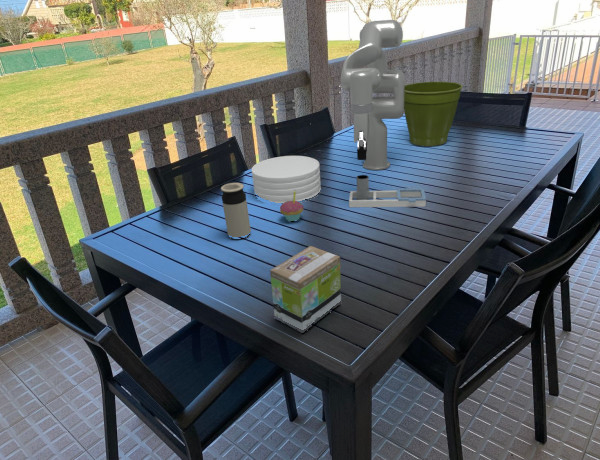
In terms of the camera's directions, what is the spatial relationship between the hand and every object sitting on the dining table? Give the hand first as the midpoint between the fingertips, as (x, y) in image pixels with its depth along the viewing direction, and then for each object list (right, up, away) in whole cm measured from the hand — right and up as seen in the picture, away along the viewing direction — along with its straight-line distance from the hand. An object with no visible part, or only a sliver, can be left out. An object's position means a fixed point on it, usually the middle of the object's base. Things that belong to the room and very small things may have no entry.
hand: (362, 155), depth 163 cm
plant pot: (+45, +19, +73) cm, 88 cm away
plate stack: (-28, -11, +25) cm, 39 cm away
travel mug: (-44, -29, -9) cm, 53 cm away
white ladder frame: (+10, -16, +7) cm, 21 cm away
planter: (+1, -17, +9) cm, 19 cm away
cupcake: (-26, -24, -1) cm, 35 cm away
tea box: (-21, -48, -51) cm, 73 cm away
